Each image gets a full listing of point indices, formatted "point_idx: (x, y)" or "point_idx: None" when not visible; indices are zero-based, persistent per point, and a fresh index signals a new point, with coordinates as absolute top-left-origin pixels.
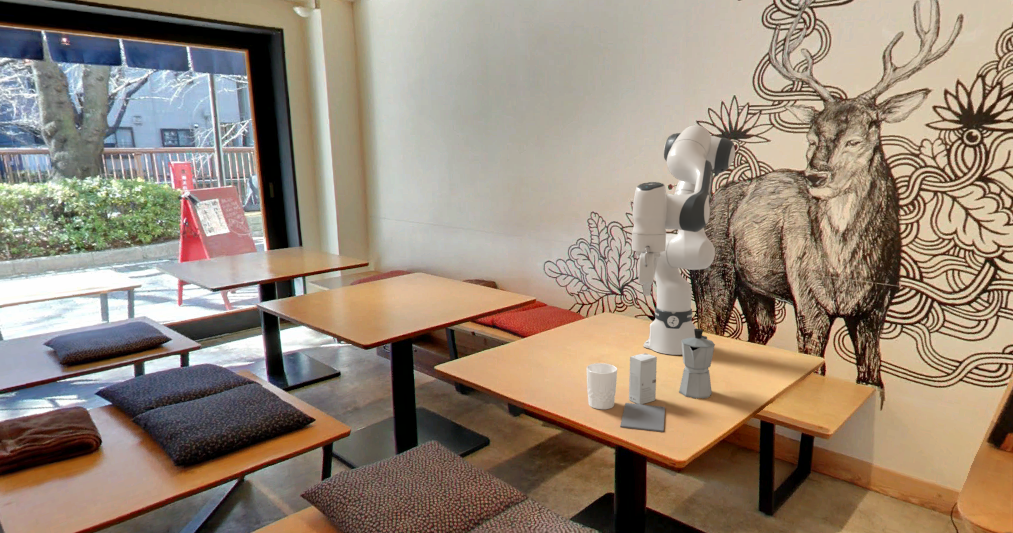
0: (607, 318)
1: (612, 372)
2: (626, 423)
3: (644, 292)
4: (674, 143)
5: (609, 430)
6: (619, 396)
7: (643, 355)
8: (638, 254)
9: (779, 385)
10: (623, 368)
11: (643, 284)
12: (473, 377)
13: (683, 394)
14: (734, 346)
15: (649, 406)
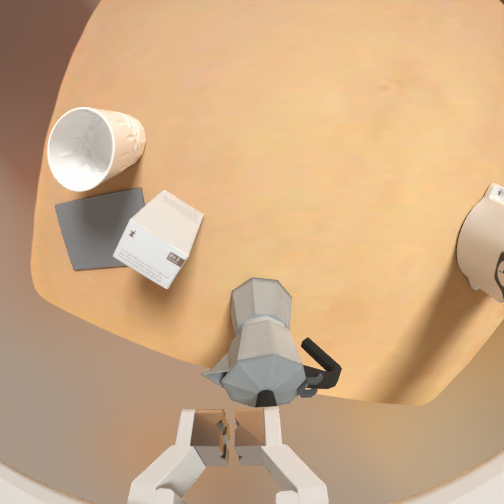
0: None
1: (63, 186)
2: (64, 213)
3: (179, 426)
4: None
5: (41, 192)
6: (177, 164)
7: (156, 256)
8: None
9: (330, 393)
10: (367, 142)
11: (139, 478)
12: None
13: (239, 286)
14: (483, 326)
15: None
